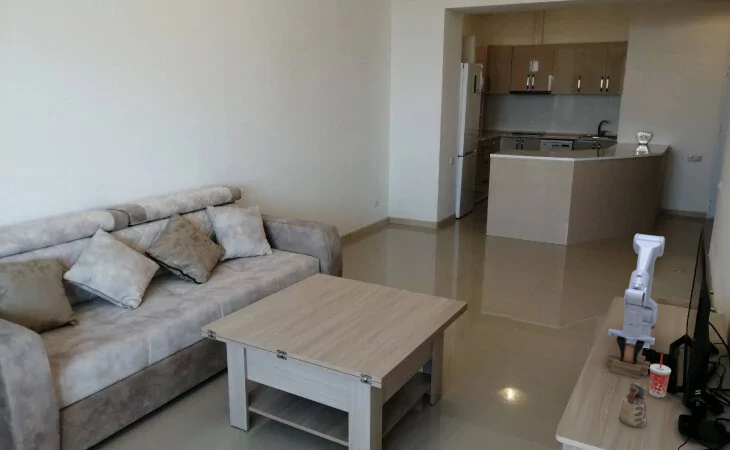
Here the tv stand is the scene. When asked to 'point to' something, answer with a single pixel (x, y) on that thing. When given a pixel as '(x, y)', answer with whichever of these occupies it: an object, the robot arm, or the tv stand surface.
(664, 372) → the beverage cup
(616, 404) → the tv stand surface
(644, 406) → the figurine
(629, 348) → the peg
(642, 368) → the socket block
